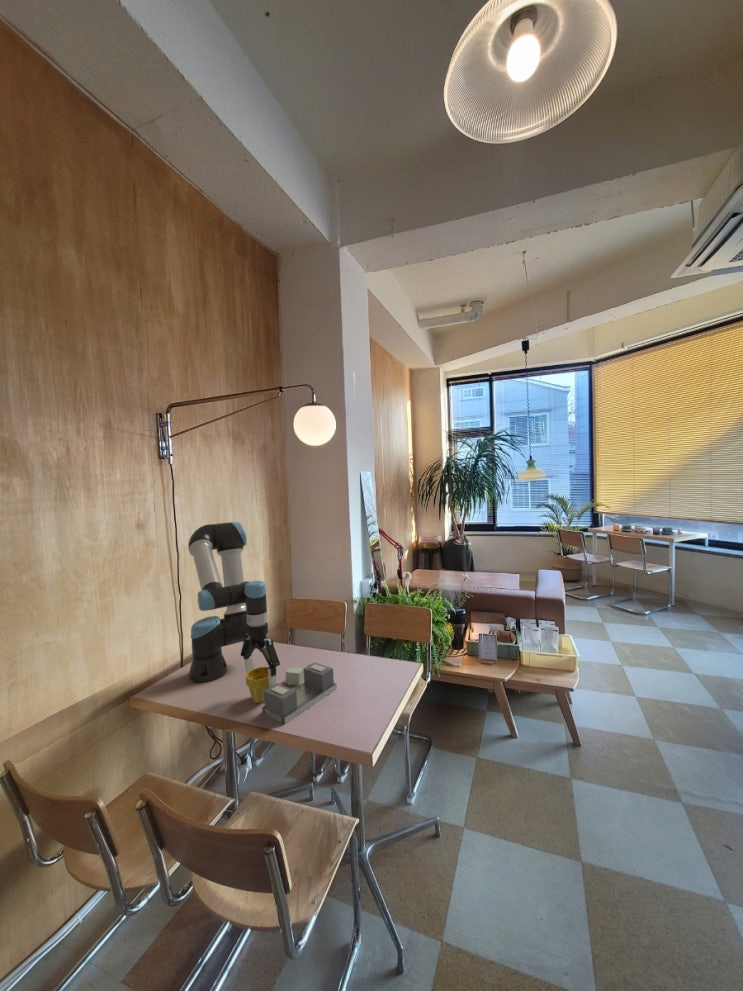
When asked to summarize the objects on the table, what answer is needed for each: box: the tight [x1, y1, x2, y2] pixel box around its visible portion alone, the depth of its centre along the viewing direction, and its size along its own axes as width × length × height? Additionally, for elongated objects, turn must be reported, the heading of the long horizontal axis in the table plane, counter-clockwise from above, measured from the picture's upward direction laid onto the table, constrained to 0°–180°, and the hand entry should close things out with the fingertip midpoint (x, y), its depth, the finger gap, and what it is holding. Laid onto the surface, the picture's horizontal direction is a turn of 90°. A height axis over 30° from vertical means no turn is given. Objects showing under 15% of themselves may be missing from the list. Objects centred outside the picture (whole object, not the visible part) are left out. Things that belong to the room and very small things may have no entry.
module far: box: [303, 662, 335, 690], centre depth 152 cm, size 10×6×6 cm, turn 54°
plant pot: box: [245, 666, 271, 704], centre depth 147 cm, size 10×10×10 cm
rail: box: [261, 681, 338, 725], centre depth 144 cm, size 12×26×2 cm, turn 144°
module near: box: [263, 682, 297, 716], centre depth 136 cm, size 10×6×6 cm, turn 54°
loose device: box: [285, 667, 304, 686], centre depth 158 cm, size 6×4×5 cm, turn 74°
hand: (260, 679), depth 146 cm, fingers open, 13 cm apart
